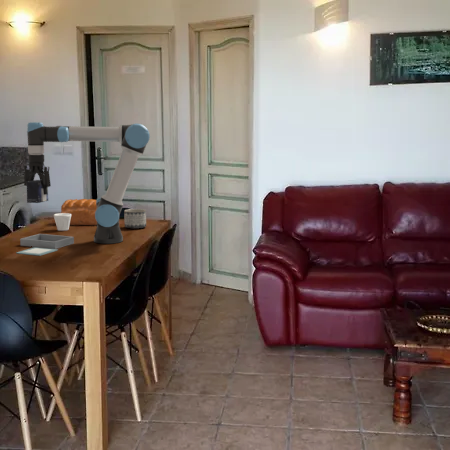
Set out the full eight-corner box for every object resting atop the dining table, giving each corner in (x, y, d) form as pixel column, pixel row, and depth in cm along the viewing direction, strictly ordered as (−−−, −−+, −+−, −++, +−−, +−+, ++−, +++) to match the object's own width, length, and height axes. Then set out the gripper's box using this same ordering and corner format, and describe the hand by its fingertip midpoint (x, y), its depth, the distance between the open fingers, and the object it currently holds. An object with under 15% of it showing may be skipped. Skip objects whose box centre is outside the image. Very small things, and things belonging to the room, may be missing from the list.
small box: (38, 203, 321) (37, 181, 319) (26, 203, 322) (25, 181, 320) (49, 200, 331) (48, 179, 329) (37, 200, 332) (36, 179, 331)
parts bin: (73, 243, 342) (73, 236, 342) (55, 248, 328) (55, 242, 327) (40, 240, 350) (39, 233, 350) (20, 245, 336) (20, 238, 336)
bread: (64, 221, 411) (63, 197, 408) (106, 222, 410) (106, 197, 408) (58, 225, 397) (57, 200, 395) (102, 226, 397) (101, 200, 394)
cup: (55, 232, 374) (54, 216, 373) (53, 229, 383) (52, 213, 382) (73, 231, 378) (72, 215, 376) (70, 228, 387) (69, 212, 386)
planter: (142, 230, 383) (142, 212, 381) (121, 229, 385) (121, 211, 383) (148, 226, 395) (148, 209, 393) (128, 225, 397) (128, 208, 395)
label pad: (58, 250, 325) (58, 249, 325) (39, 255, 312) (39, 254, 312) (34, 247, 330) (34, 247, 330) (16, 253, 317) (16, 252, 317)
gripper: (57, 154, 322) (59, 201, 326) (25, 153, 330) (26, 198, 334) (47, 155, 315) (49, 202, 319) (14, 153, 323) (16, 200, 327)
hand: (37, 200), depth 326 cm, fingers closed on small box, 7 cm apart
